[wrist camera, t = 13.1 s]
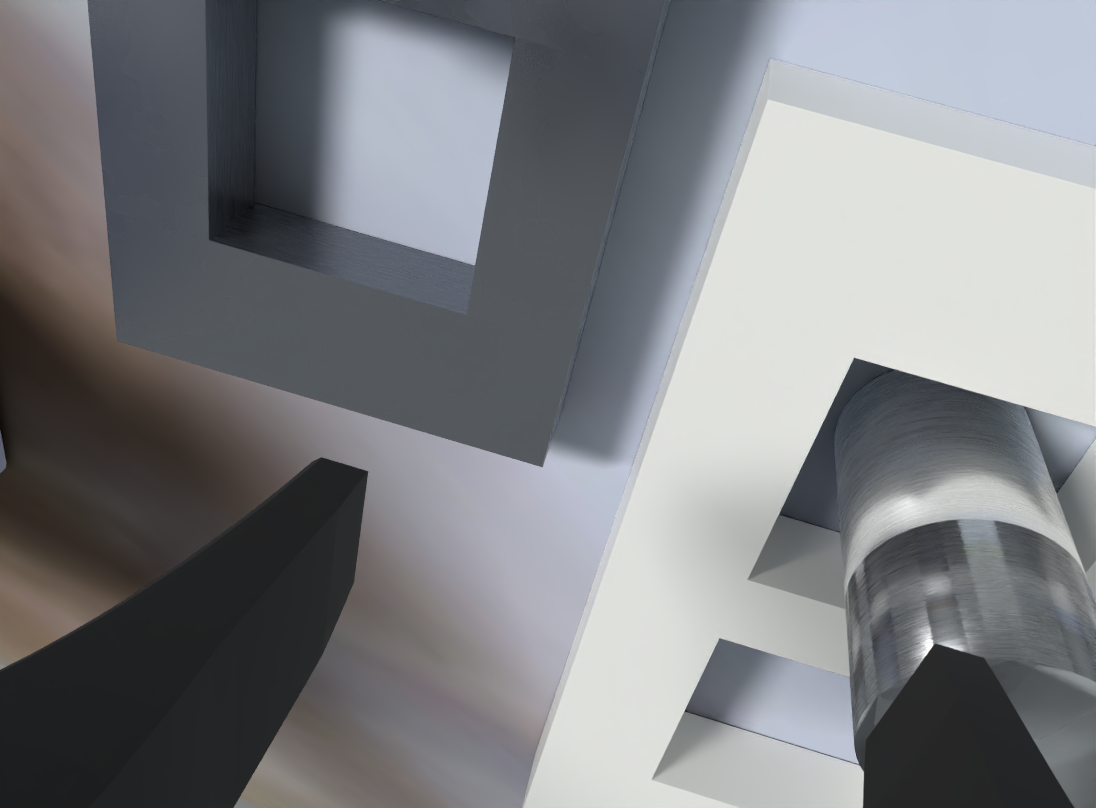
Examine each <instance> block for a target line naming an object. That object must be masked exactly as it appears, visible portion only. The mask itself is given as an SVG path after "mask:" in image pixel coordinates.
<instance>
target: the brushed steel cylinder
mask: <svg viewBox="0 0 1096 808" xmlns="http://www.w3.org/2000/svg"><path fill="white" fill-rule="evenodd" d="M834 448H835V463H836V478H837V493H838V508H839V523H840V538H841V552H842V567H843V582H844V597H845V612H846V627H847V642H848V657H849V672H850V687H851V702H852V717H853V732H854V747H855V752H856V756H857V760H858V762H859V764H860V766H861V769H862V770H863V772H864V763H865V744H866V739H867V738H868V736H869V735H870V734H871V732H872V731H873V729H874V728H875V727H876V725H877V724H878V722H879V721H880V720H881V718H882V717H883V715H884V714H885V712H886V711H887V710H888V708H889V707H890V705H891V704H892V703H893V701H894V700H895V698H896V697H897V696H898V694H899V693H900V691H901V690H902V689H903V687H904V686H905V684H906V683H907V682H908V680H909V679H910V677H911V676H912V675H913V673H914V672H915V670H916V669H917V668H918V666H919V665H920V663H921V662H922V660H923V659H924V658H925V656H926V655H927V653H928V652H929V651H930V649H931V648H932V646H933V645H934V644H935V643H936V644H940V645H943V646H946V647H950V648H953V649H956V650H960V651H963V652H966V653H969V654H973V655H976V656H979V657H983V658H985V660H986V661H987V663H988V665H989V666H990V668H991V669H992V671H993V673H994V674H995V676H996V678H997V679H998V681H999V682H1000V684H1001V686H1002V687H1003V689H1004V691H1005V693H1006V694H1007V696H1008V698H1009V699H1010V701H1011V703H1012V704H1013V706H1014V708H1015V709H1016V711H1017V713H1018V715H1019V716H1020V718H1021V720H1022V721H1023V723H1024V725H1025V726H1026V728H1027V730H1028V731H1029V733H1030V735H1031V737H1032V738H1033V740H1034V742H1035V743H1036V745H1037V747H1038V748H1039V750H1040V752H1041V753H1042V755H1043V757H1044V758H1045V760H1046V762H1047V763H1048V765H1049V767H1050V769H1051V770H1052V772H1053V774H1054V775H1055V777H1056V778H1057V780H1058V782H1059V783H1060V785H1061V787H1062V788H1063V790H1064V792H1065V793H1066V795H1067V797H1068V798H1069V800H1070V801H1071V803H1072V805H1073V806H1074V808H1096V601H1095V598H1094V596H1093V593H1092V590H1091V587H1090V585H1089V582H1088V579H1087V576H1086V574H1085V571H1084V568H1083V565H1082V563H1081V560H1080V557H1079V554H1078V552H1077V549H1076V546H1075V543H1074V541H1073V538H1072V535H1071V532H1070V530H1069V527H1068V524H1067V521H1066V519H1065V516H1064V513H1063V510H1062V508H1061V505H1060V502H1059V499H1058V497H1057V494H1056V491H1055V488H1054V486H1053V483H1052V480H1051V477H1050V475H1049V472H1048V469H1047V466H1046V464H1045V461H1044V458H1043V455H1042V453H1041V450H1040V447H1039V444H1038V442H1037V439H1036V436H1035V433H1034V431H1033V428H1032V425H1031V422H1030V420H1029V417H1028V414H1027V412H1026V409H1025V407H1024V406H1022V405H1018V404H1015V403H1011V402H1008V401H1004V400H1001V399H997V398H994V397H990V396H987V395H983V394H980V393H976V392H973V391H969V390H966V389H962V388H959V387H955V386H952V385H948V384H945V383H941V382H938V381H934V380H931V379H927V378H924V377H920V376H917V375H913V374H910V373H906V372H903V371H899V370H896V369H895V370H892V371H890V372H887V373H885V374H883V375H881V376H879V377H877V378H875V379H874V380H872V381H871V382H869V383H868V384H866V385H865V386H864V387H863V388H861V389H860V390H859V391H858V392H857V393H856V394H855V395H854V396H853V397H852V398H851V399H850V400H849V402H848V403H847V405H846V406H845V407H844V409H843V411H842V413H841V415H840V417H839V419H838V422H837V425H836V429H835V436H834Z"/></svg>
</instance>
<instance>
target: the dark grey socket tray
mask: <svg viewBox="0 0 1096 808" xmlns="http://www.w3.org/2000/svg"><path fill="white" fill-rule="evenodd" d="M380 1H383V2H387V3H391V4H394V5H398V6H402V7H405V8H409V9H413V10H416V11H420V12H424V13H427V14H431V15H435V16H438V17H442V18H446V19H449V20H453V21H457V22H460V23H464V24H468V25H471V26H475V27H479V28H482V29H486V30H490V31H493V32H497V33H500V34H504V35H508V36H511V37H515V42H514V48H513V54H512V59H511V65H510V71H509V77H508V82H507V88H506V94H505V99H504V105H503V111H502V116H501V122H500V128H499V133H498V139H497V145H496V150H495V156H494V162H493V168H492V173H491V179H490V185H489V190H488V196H487V202H486V207H485V213H484V219H483V224H482V230H481V236H480V241H479V247H478V253H477V259H476V264H475V266H473V265H469V264H466V263H462V262H459V261H455V260H452V259H448V258H445V257H442V256H438V255H435V254H431V253H428V252H424V251H421V250H417V249H414V248H410V247H407V246H403V245H400V244H396V243H393V242H389V241H386V240H382V239H379V238H375V237H372V236H368V235H365V234H361V233H358V232H354V231H351V230H347V229H344V228H340V227H337V226H333V225H330V224H326V223H323V222H319V221H316V220H312V219H309V218H305V217H302V216H298V215H295V214H292V213H288V212H285V211H281V210H278V209H274V208H271V207H267V206H264V205H260V204H257V203H254V160H255V97H256V33H257V0H88V12H89V23H90V35H91V46H92V58H93V70H94V81H95V93H96V104H97V116H98V127H99V139H100V150H101V162H102V173H103V185H104V197H105V208H106V220H107V231H108V243H109V254H110V266H111V277H112V289H113V301H114V312H115V324H116V335H117V341H119V342H122V343H126V344H129V345H133V346H136V347H139V348H143V349H146V350H149V351H153V352H156V353H160V354H163V355H166V356H170V357H173V358H176V359H180V360H183V361H186V362H190V363H193V364H197V365H200V366H203V367H207V368H210V369H213V370H217V371H220V372H224V373H227V374H230V375H234V376H237V377H240V378H244V379H247V380H250V381H254V382H257V383H261V384H264V385H267V386H271V387H274V388H277V389H281V390H284V391H288V392H291V393H294V394H298V395H301V396H304V397H308V398H311V399H314V400H318V401H321V402H325V403H328V404H331V405H335V406H338V407H341V408H345V409H348V410H352V411H355V412H358V413H362V414H365V415H368V416H372V417H375V418H378V419H382V420H385V421H389V422H392V423H395V424H399V425H402V426H405V427H409V428H412V429H416V430H419V431H422V432H426V433H429V434H432V435H436V436H439V437H442V438H446V439H449V440H453V441H456V442H459V443H463V444H466V445H469V446H473V447H476V448H480V449H483V450H486V451H490V452H493V453H496V454H500V455H503V456H506V457H510V458H513V459H517V460H520V461H523V462H527V463H530V464H533V465H537V466H540V467H543V464H544V461H545V458H546V455H547V453H548V450H549V447H550V444H551V441H552V438H553V435H554V432H555V429H556V426H557V424H558V421H559V418H560V415H561V411H562V407H563V403H564V399H565V396H566V392H567V388H568V384H569V381H570V377H571V373H572V369H573V366H574V362H575V358H576V354H577V351H578V347H579V343H580V339H581V335H582V332H583V328H584V324H585V320H586V317H587V313H588V309H589V305H590V302H591V298H592V294H593V290H594V287H595V283H596V279H597V275H598V271H599V268H600V264H601V260H602V256H603V253H604V249H605V245H606V241H607V238H608V234H609V230H610V226H611V223H612V219H613V215H614V211H615V207H616V204H617V200H618V196H619V192H620V189H621V185H622V181H623V177H624V174H625V170H626V166H627V162H628V159H629V155H630V151H631V147H632V143H633V140H634V136H635V132H636V128H637V125H638V121H639V117H640V113H641V110H642V106H643V102H644V98H645V95H646V91H647V87H648V83H649V79H650V76H651V72H652V68H653V64H654V61H655V57H656V53H657V49H658V46H659V42H660V38H661V34H662V31H663V27H664V23H665V19H666V15H667V12H668V8H669V4H670V0H380Z"/></svg>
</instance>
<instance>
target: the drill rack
mask: <svg viewBox="0 0 1096 808" xmlns="http://www.w3.org/2000/svg"><path fill="white" fill-rule="evenodd" d="M854 358H857V359H861V360H864V361H868V362H871V363H875V364H878V365H882V366H885V367H889V368H892V369H896V370H899V371H903V372H906V373H910V374H913V375H917V376H920V377H924V378H927V379H931V380H934V381H938V382H941V383H945V384H948V385H952V386H955V387H959V388H962V389H966V390H969V391H973V392H976V393H980V394H983V395H987V396H990V397H994V398H997V399H1001V400H1004V401H1008V402H1011V403H1015V404H1018V405H1022V406H1025V407H1029V408H1032V409H1036V410H1039V411H1043V412H1046V413H1050V414H1053V415H1057V416H1060V417H1064V418H1067V419H1071V420H1074V421H1078V422H1081V423H1085V424H1088V425H1092V426H1095V427H1096V146H1092V145H1089V144H1085V143H1081V142H1078V141H1074V140H1070V139H1066V138H1063V137H1059V136H1055V135H1052V134H1048V133H1044V132H1041V131H1037V130H1033V129H1029V128H1026V127H1022V126H1018V125H1015V124H1011V123H1007V122H1004V121H1000V120H996V119H993V118H989V117H985V116H981V115H978V114H974V113H970V112H967V111H963V110H959V109H956V108H952V107H948V106H944V105H941V104H937V103H933V102H930V101H926V100H922V99H919V98H915V97H911V96H907V95H904V94H900V93H896V92H893V91H889V90H885V89H882V88H878V87H874V86H871V85H867V84H863V83H859V82H856V81H852V80H848V79H845V78H841V77H837V76H834V75H830V74H826V73H822V72H819V71H815V70H811V69H808V68H804V67H800V66H797V65H793V64H789V63H785V62H782V61H778V60H774V59H771V58H770V61H769V64H768V67H767V70H766V72H765V75H764V78H763V81H762V84H761V87H760V90H759V93H758V96H757V99H756V102H755V105H754V108H753V111H752V114H751V117H750V120H749V123H748V126H747V129H746V132H745V135H744V138H743V141H742V144H741V147H740V149H739V152H738V155H737V158H736V161H735V164H734V167H733V170H732V173H731V176H730V179H729V182H728V185H727V188H726V191H725V194H724V197H723V200H722V203H721V206H720V209H719V212H718V215H717V218H716V221H715V224H714V226H713V229H712V232H711V235H710V238H709V241H708V244H707V247H706V250H705V253H704V256H703V259H702V262H701V265H700V268H699V271H698V274H697V277H696V280H695V283H694V286H693V289H692V292H691V295H690V298H689V301H688V303H687V306H686V309H685V312H684V315H683V318H682V321H681V324H680V327H679V330H678V333H677V336H676V339H675V342H674V345H673V348H672V351H671V354H670V357H669V360H668V363H667V366H666V369H665V372H664V375H663V377H662V380H661V383H660V386H659V389H658V392H657V395H656V398H655V401H654V404H653V407H652V410H651V413H650V416H649V419H648V422H647V425H646V428H645V431H644V434H643V437H642V440H641V443H640V446H639V449H638V452H637V454H636V457H635V460H634V463H633V466H632V469H631V472H630V475H629V478H628V481H627V484H626V487H625V490H624V493H623V496H622V499H621V502H620V505H619V508H618V511H617V514H616V517H615V520H614V523H613V526H612V529H611V531H610V534H609V537H608V540H607V543H606V546H605V549H604V552H603V555H602V558H601V561H600V564H599V567H598V570H597V573H596V576H595V579H594V582H593V585H592V588H591V591H590V594H589V597H588V600H587V603H586V605H585V608H584V611H583V614H582V617H581V620H580V623H579V626H578V629H577V632H576V635H575V638H574V641H573V644H572V647H571V650H570V653H569V656H568V659H567V662H566V665H565V668H564V671H563V674H562V677H561V680H560V682H559V685H558V688H557V691H556V694H555V697H554V700H553V703H552V706H551V709H550V712H549V715H548V718H547V721H546V724H545V727H544V730H543V733H542V736H541V739H540V742H539V745H538V748H537V751H536V754H535V758H534V762H533V766H532V770H531V774H530V778H529V782H528V786H527V790H526V794H525V798H524V802H523V806H522V808H863V783H864V772H863V770H862V769H861V766H859V765H856V764H853V763H850V762H846V761H843V760H840V759H837V758H833V757H830V756H827V755H824V754H821V753H817V752H814V751H811V750H808V749H804V748H801V747H798V746H795V745H791V744H788V743H785V742H782V741H778V740H775V739H772V738H769V737H765V736H762V735H759V734H756V733H752V732H749V731H746V730H743V729H739V728H736V727H733V726H730V725H726V724H723V723H720V722H717V721H713V720H710V719H707V718H704V717H700V716H697V715H694V714H691V713H687V712H684V711H685V709H686V707H687V705H688V703H689V700H690V698H691V696H692V694H693V692H694V690H695V688H696V686H697V684H698V682H699V680H700V678H701V675H702V673H703V671H704V669H705V667H706V665H707V663H708V661H709V659H710V657H711V655H712V653H713V650H714V648H715V646H716V644H717V642H718V640H719V638H721V639H724V640H728V641H731V642H734V643H738V644H741V645H744V646H747V647H751V648H754V649H757V650H761V651H764V652H767V653H771V654H774V655H777V656H780V657H784V658H787V659H790V660H794V661H797V662H800V663H803V664H807V665H810V666H813V667H817V668H820V669H823V670H827V671H830V672H833V673H836V674H840V675H843V676H846V677H850V672H849V657H848V642H847V627H846V612H845V597H844V582H843V567H842V552H841V538H840V533H839V532H835V531H832V530H829V529H825V528H822V527H818V526H815V525H812V524H808V523H805V522H802V521H798V520H795V519H791V518H788V517H785V516H781V515H779V513H780V511H781V509H782V507H783V505H784V503H785V501H786V498H787V496H788V494H789V492H790V490H791V488H792V486H793V484H794V482H795V480H796V478H797V476H798V473H799V471H800V469H801V467H802V465H803V463H804V461H805V459H806V457H807V455H808V453H809V451H810V448H811V446H812V444H813V442H814V440H815V438H816V436H817V434H818V432H819V430H820V428H821V426H822V423H823V421H824V419H825V417H826V415H827V413H828V411H829V409H830V407H831V405H832V403H833V401H834V398H835V396H836V394H837V392H838V390H839V388H840V386H841V384H842V382H843V380H844V378H845V376H846V373H847V371H848V369H849V367H850V365H851V363H852V361H853V359H854ZM1057 497H1058V499H1059V502H1060V505H1061V508H1062V510H1063V513H1064V516H1065V519H1066V521H1067V524H1068V527H1069V530H1070V532H1071V535H1072V538H1073V541H1074V543H1075V546H1076V549H1077V552H1078V554H1079V557H1080V560H1081V563H1082V565H1083V568H1084V571H1085V574H1086V576H1087V579H1088V582H1089V585H1090V587H1091V590H1092V593H1093V596H1094V598H1095V601H1096V439H1095V441H1094V442H1093V443H1092V445H1091V446H1090V448H1089V449H1088V451H1087V452H1086V453H1085V455H1084V456H1083V458H1082V459H1081V460H1080V462H1079V463H1078V465H1077V466H1076V467H1075V469H1074V470H1073V472H1072V473H1071V474H1070V476H1069V477H1068V479H1067V480H1066V481H1065V483H1064V484H1063V486H1062V487H1061V488H1060V490H1059V491H1058V493H1057Z"/></svg>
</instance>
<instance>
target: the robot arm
mask: <svg viewBox="0 0 1096 808" xmlns="http://www.w3.org/2000/svg"><path fill="white" fill-rule="evenodd" d="M5 468H6V459H5V453H4V448H3V443H2V437H1V432H0V473H1V472H2V471H3V470H4V469H5ZM367 476H368V471H365V470H362V469H358V468H355V467H352V466H349V465H345V464H342V463H339V462H335V461H332V460H329V459H325V458H322V457H321V458H319V459H317V460H315V461H313V462H311V463H310V464H309V465H308V466H307V467H306V468H304V469H303V470H302V471H301V472H300V473H298V474H297V475H296V476H295V477H294V478H292V479H291V480H290V481H289V482H288V483H286V484H285V485H284V486H283V487H282V488H280V489H279V490H278V491H277V492H275V493H274V494H273V495H272V496H270V497H269V498H268V499H267V500H265V501H264V502H263V503H262V504H260V505H259V506H258V507H256V508H255V509H254V510H253V511H251V512H250V513H249V514H247V515H246V516H245V517H244V518H242V519H241V520H240V521H238V522H237V523H236V524H234V525H233V526H232V527H230V528H229V529H227V530H226V531H225V532H223V533H222V534H221V535H219V536H218V537H217V538H215V539H214V540H212V541H211V542H210V543H208V544H207V545H206V546H204V547H203V548H201V549H200V550H199V551H197V552H196V553H195V554H193V555H192V556H190V557H189V558H188V559H186V560H185V561H183V562H182V563H180V564H179V565H177V566H176V567H174V568H173V569H171V570H170V571H168V572H167V573H165V574H164V575H162V576H161V577H159V578H158V579H156V580H155V581H153V582H152V583H150V584H148V585H147V586H145V587H144V588H142V589H141V590H139V591H138V592H136V593H135V594H133V595H132V596H130V597H129V598H127V599H126V600H124V601H122V602H121V603H119V604H118V605H116V606H114V607H113V608H111V609H109V610H108V611H106V612H104V613H103V614H101V615H100V616H98V617H96V618H95V619H93V620H91V621H90V622H88V623H86V624H84V625H83V626H81V627H79V628H77V629H76V630H74V631H72V632H70V633H69V634H67V635H65V636H63V637H61V638H60V639H58V640H56V641H54V642H52V643H51V644H49V645H47V646H45V647H43V648H42V649H40V650H38V651H36V652H34V653H32V654H30V655H29V656H27V657H25V658H23V659H21V660H19V661H17V662H15V663H13V664H11V665H9V666H7V667H5V668H3V669H1V670H0V808H233V807H234V806H235V804H236V802H237V801H238V799H239V797H240V796H241V794H242V792H243V790H244V789H245V787H246V785H247V784H248V782H249V780H250V778H251V777H252V775H253V773H254V772H255V770H256V768H257V766H258V765H259V763H260V761H261V760H262V758H263V756H264V754H265V753H266V751H267V749H268V748H269V746H270V744H271V742H272V741H273V739H274V737H275V736H276V734H277V732H278V730H279V729H280V727H281V725H282V724H283V722H284V720H285V718H286V717H287V715H288V713H289V712H290V710H291V708H292V706H293V705H294V703H295V701H296V699H297V698H298V696H299V694H300V692H301V691H302V689H303V687H304V686H305V684H306V682H307V680H308V679H309V677H310V675H311V673H312V672H313V670H314V668H315V666H316V665H317V663H318V661H319V659H320V658H321V656H322V654H323V652H324V650H325V647H326V645H327V643H328V641H329V638H330V636H331V634H332V632H333V630H334V627H335V625H336V623H337V620H338V618H339V616H340V613H341V611H342V609H343V606H344V604H345V602H346V599H347V597H348V595H349V592H350V590H351V588H352V585H353V583H354V576H355V569H356V561H357V553H358V545H359V538H360V530H361V522H362V515H363V507H364V499H365V491H366V484H367ZM863 808H1074V806H1073V805H1072V803H1071V801H1070V800H1069V798H1068V797H1067V795H1066V793H1065V792H1064V790H1063V788H1062V787H1061V785H1060V783H1059V782H1058V780H1057V778H1056V777H1055V775H1054V774H1053V772H1052V770H1051V769H1050V767H1049V765H1048V763H1047V762H1046V760H1045V758H1044V757H1043V755H1042V753H1041V752H1040V750H1039V748H1038V747H1037V745H1036V743H1035V742H1034V740H1033V738H1032V737H1031V735H1030V733H1029V731H1028V730H1027V728H1026V726H1025V725H1024V723H1023V721H1022V720H1021V718H1020V716H1019V715H1018V713H1017V711H1016V709H1015V708H1014V706H1013V704H1012V703H1011V701H1010V699H1009V698H1008V696H1007V694H1006V693H1005V691H1004V689H1003V687H1002V686H1001V684H1000V682H999V681H998V679H997V678H996V676H995V674H994V673H993V671H992V669H991V668H990V666H989V665H988V663H987V661H986V660H985V658H983V657H979V656H976V655H973V654H969V653H966V652H963V651H960V650H956V649H953V648H950V647H946V646H943V645H940V644H936V643H935V644H934V645H933V646H932V648H931V649H930V651H929V652H928V653H927V655H926V656H925V658H924V659H923V660H922V662H921V663H920V665H919V666H918V668H917V669H916V670H915V672H914V673H913V675H912V676H911V677H910V679H909V680H908V682H907V683H906V684H905V686H904V687H903V689H902V690H901V691H900V693H899V694H898V696H897V697H896V698H895V700H894V701H893V703H892V704H891V705H890V707H889V708H888V710H887V711H886V712H885V714H884V715H883V717H882V718H881V720H880V721H879V722H878V724H877V725H876V727H875V728H874V729H873V731H872V732H871V734H870V735H869V736H868V738H867V739H866V744H865V763H864V783H863Z"/></svg>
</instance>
